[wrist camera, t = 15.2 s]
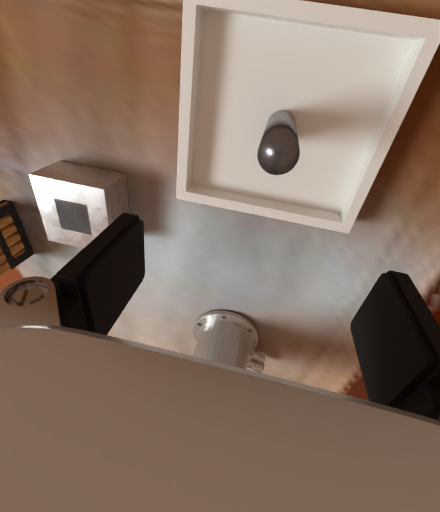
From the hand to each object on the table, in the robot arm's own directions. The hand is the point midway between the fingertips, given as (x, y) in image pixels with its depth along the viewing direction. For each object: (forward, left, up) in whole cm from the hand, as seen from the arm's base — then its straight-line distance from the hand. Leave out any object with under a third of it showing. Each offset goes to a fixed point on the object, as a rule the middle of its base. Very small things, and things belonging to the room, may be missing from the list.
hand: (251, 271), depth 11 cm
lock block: (+18, +21, -26) cm, 38 cm away
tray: (0, -1, -26) cm, 26 cm away
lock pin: (0, -1, -26) cm, 26 cm away
